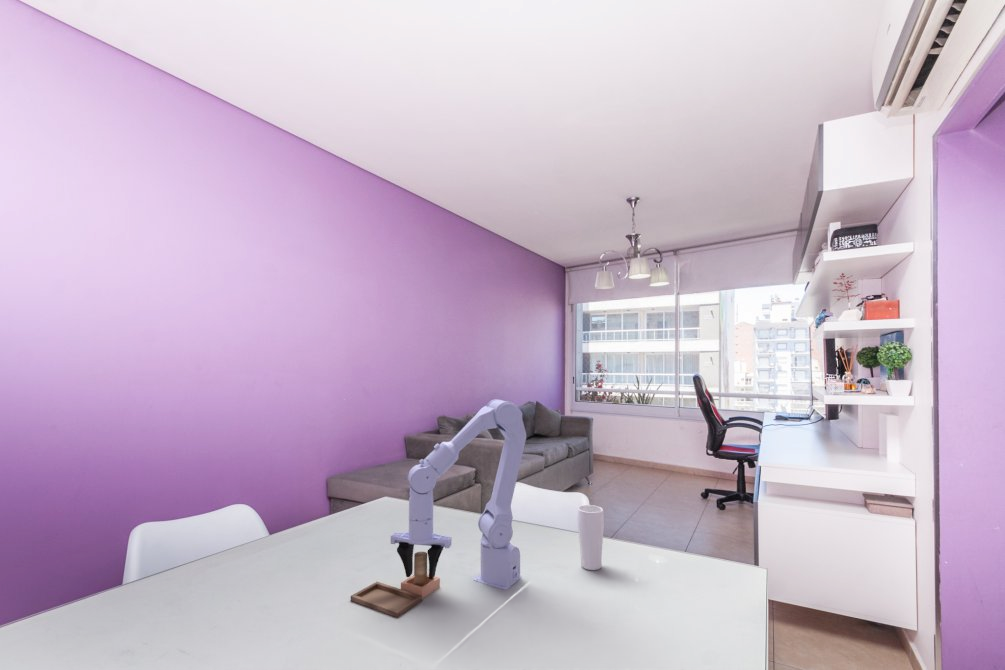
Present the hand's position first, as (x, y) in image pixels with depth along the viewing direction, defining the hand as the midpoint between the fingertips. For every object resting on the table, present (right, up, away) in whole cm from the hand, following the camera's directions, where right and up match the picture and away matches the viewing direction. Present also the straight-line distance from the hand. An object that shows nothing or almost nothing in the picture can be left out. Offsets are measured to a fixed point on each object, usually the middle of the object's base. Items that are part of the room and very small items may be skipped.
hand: (420, 576), depth 109 cm
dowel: (0, -3, 0) cm, 3 cm away
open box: (0, -3, 0) cm, 3 cm away
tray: (-7, -3, -6) cm, 9 cm away
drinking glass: (+43, -4, +13) cm, 45 cm away
